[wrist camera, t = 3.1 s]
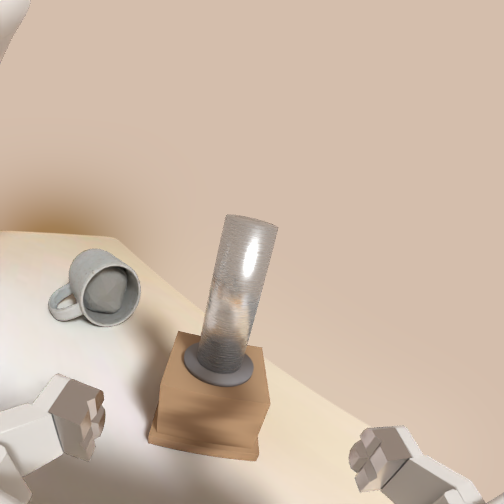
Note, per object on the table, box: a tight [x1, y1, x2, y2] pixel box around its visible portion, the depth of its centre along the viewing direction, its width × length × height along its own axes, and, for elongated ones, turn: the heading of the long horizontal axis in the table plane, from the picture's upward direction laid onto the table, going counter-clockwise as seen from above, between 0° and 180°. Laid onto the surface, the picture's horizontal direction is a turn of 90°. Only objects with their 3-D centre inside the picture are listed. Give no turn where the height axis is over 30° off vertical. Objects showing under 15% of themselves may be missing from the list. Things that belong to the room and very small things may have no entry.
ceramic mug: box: [48, 249, 141, 327], centre depth 31 cm, size 11×8×8 cm
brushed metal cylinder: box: [197, 215, 278, 374], centre depth 19 cm, size 3×3×10 cm
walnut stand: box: [148, 331, 270, 461], centre depth 21 cm, size 8×8×6 cm
